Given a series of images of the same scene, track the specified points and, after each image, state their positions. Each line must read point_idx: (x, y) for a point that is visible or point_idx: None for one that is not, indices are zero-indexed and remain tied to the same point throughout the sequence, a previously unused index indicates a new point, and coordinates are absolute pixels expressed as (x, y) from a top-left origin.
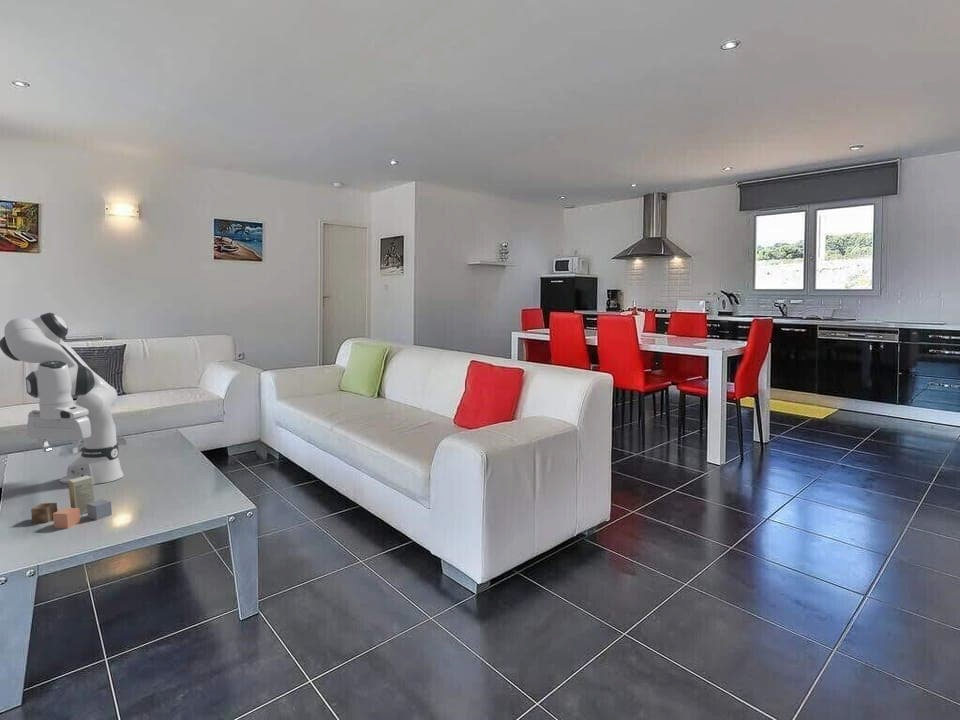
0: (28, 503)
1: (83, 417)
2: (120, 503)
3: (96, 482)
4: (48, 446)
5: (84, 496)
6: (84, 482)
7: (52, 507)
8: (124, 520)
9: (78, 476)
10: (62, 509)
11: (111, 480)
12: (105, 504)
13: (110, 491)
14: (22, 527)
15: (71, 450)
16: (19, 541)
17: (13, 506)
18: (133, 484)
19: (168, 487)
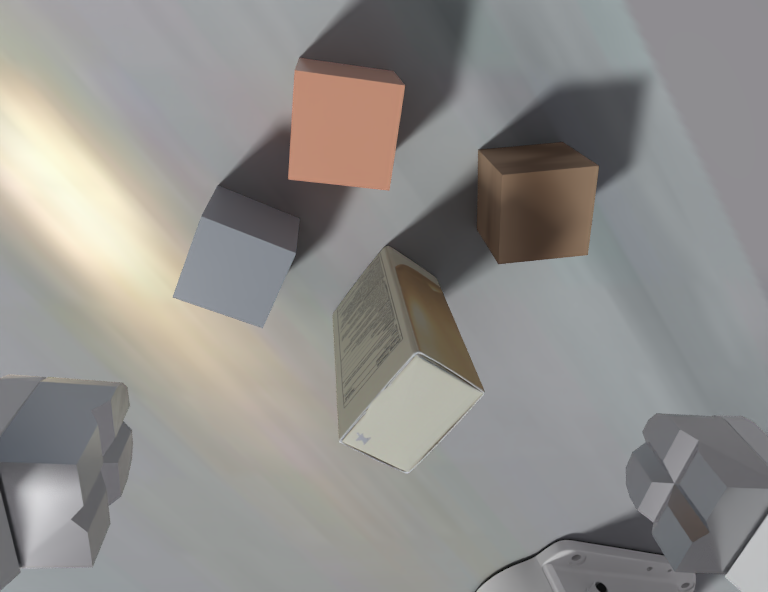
0: (711, 371)
1: None
2: (266, 392)
3: (532, 564)
4: (712, 530)
5: (364, 328)
6: (366, 390)
7: (496, 219)
8: (42, 182)
9: (625, 589)
10: (387, 157)
11: (484, 586)
12: (184, 264)
13: (419, 504)
14: (580, 74)
15: (28, 416)
16: None
17: (762, 338)
18: (370, 568)
19: (182, 557)
